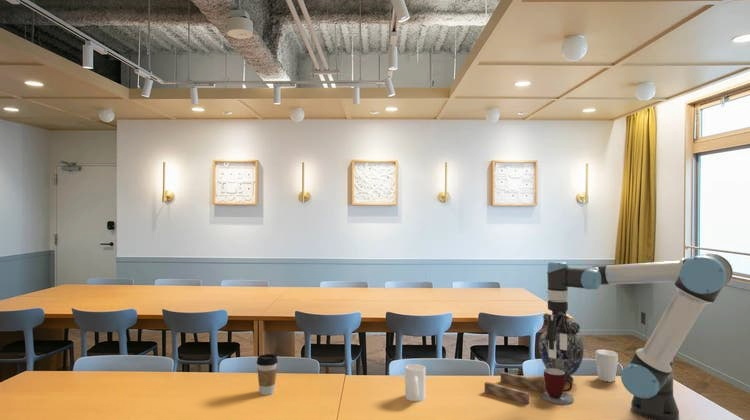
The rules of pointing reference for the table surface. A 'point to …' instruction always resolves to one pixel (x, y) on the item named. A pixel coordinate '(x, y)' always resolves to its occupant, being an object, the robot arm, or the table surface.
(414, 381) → the mug
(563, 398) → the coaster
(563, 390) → the mug
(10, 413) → the table surface
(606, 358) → the cup
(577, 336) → the decorative vase
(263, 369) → the coffee cup
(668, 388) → the robot arm
